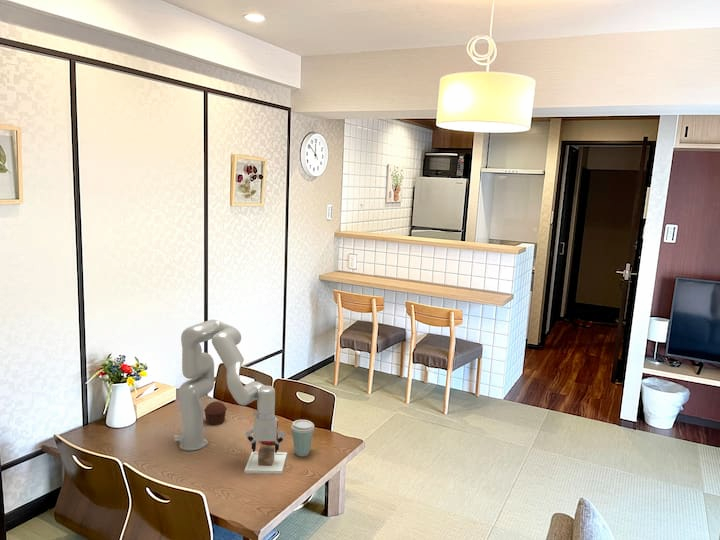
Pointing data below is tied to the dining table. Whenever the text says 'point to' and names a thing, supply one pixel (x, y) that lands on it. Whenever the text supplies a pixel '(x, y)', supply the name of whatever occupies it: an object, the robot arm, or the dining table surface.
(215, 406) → the muffin
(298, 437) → the disposable coffee cup
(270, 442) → the canned food
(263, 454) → the cube
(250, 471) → the plate
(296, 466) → the dining table surface
